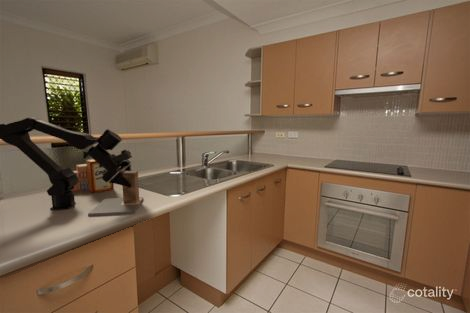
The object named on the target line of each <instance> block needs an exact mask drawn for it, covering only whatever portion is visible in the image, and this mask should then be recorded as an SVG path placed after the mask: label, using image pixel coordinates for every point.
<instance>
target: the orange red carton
mask: <svg viewBox="0 0 470 313" xmlns="http://www.w3.org/2000/svg"><path fill="white" fill-rule="evenodd" d="M72 171H73V172H74V173H76V176H77V177H78V182H77V184H76V185H75V186H74V189H72V190H70V191H72V192H77V191H78V190H79V191H85V190H89V186H88V175H87V164H86V163H82V164H76V170H72Z"/></svg>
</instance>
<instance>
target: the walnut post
mask: <svg viewBox="0 0 470 313" xmlns="http://www.w3.org/2000/svg"><path fill="white" fill-rule="evenodd" d="M122 174H123V176H124V177H125V178H126V179H127V181H128V182H129V183H130V184H131V185H132V186H131V187H126V186H122V198H123V202H124V204H130V203H137V202H138V200H139V197H140V187H139V170H132V171H124V172H123V173H122Z"/></svg>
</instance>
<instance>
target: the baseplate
mask: <svg viewBox="0 0 470 313" xmlns="http://www.w3.org/2000/svg"><path fill="white" fill-rule="evenodd" d="M143 200H144V197H140V196H139V200H138V202H137V203H130V204H124V202H123V197H120V198H119V197H118V198H117V197H116V198H104V199H103V200H102V201H100V203H99V204H97V205H96V206H95V207H94V208H93V209H91V210H90V211H89V212H88V214H87V216H88V217H94V216H95V217H96V216H98V217H99V216H116V215H117V216H118V215H132V214H133V215H134V214H135V213H136V211H137V210H138V208H139V206H140V205H141V204H142V202H143Z"/></svg>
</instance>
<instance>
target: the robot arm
mask: <svg viewBox="0 0 470 313" xmlns="http://www.w3.org/2000/svg"><path fill="white" fill-rule="evenodd" d="M34 130H35V131H38V132H40V133H43V134H45V135H49V136H51V137H53V138H56V139H60V140H63V141H64V142H66V143H67V144H68V145H70V146H72V147H73V148H75V149H77V150H85V149H88V150H86V151H82V154H83V156H82V158H83V160H84V159H88V158H91V159H94V160H95V161H96V162H97V163H99V164H100V165H99V167H100V168H101V167H103V168H105V169H106V170H107V172H106V173H105V174H104V175H103V176H102V178H103V180H104V181H105V182H106V183H107V182H108V181H110V179H111V181H110V182H109V183H113V185H119V186H122V187H123V186H126V187H131V186H132V185H131V184H130V183H129V182H128V181H127V179H126V178H125V177H124V176H123V174H122V173H123V172H124V171H133V170H132V162H131V161H130V160H129V159H131V158H133V157H132V154H131V151H130V150H127V149H123V150H121V151H120V154H118V155H115V154H114V153H110V152H109V150H110V151H113V150H114V149H115V148H116V147H117V146H118V145H119V144H120V143H121V142H122V140H123V139H122V138H121V136H120V135H119V134H117V133H115V132H114V131H112V130H110V129H105V130H104V132H103V133H102V134H101V135H100V136H99V137H96V136H93V135H91V134H90V133H85V132H81V131H73V130H69V129H66V128H64V127H62V126H58V125H57V124H53V123H51V122H49V121H46V120H45V121H44V120H42V119H40V118H39V117H26V118H23V119H21V120H17V121H14V122H13V121H12V122H10V123H0V141H2V142H4V143H6V144H8V145H10V146H12V147H16V148H17V149H19V150H20V151H21V152H22V153H23V154H24V155H25V156H26V157H28V158H29V159H30V160H31V161H32V162H33V163H34V164H35V165H36V166H38V168H40V169H41V170H42V171H43V172H44V173H45V174H46V175H47V177H48V179H49V182H50V183H51V186H50V187H49V188H48V189H47V190H46V193H47V194H48V196H51V205H52V207H50V208H49V209H50V210H51V211H52V210H68V209H70V208H71V207H73V206H75V205H76V204H77V202H76V200H75V194H74V191H70V190H72V189H74V186H75V185H76V184H77V182H78V177H77V176H76V173H74V172H73V171H74V170H72V169H71V167H69V166H67V167H62V166H60V165H58V163H57V162H55V161H54V160H53V159H52V158H51V157H50V156H49V155H48V154H47V153H46V152H44V150H42V149H41V148H40V147H39V146H38V145H37V144H36V143H34V141H32V139H31V136H30V132H33V131H34ZM94 145H95V146H94Z"/></svg>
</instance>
